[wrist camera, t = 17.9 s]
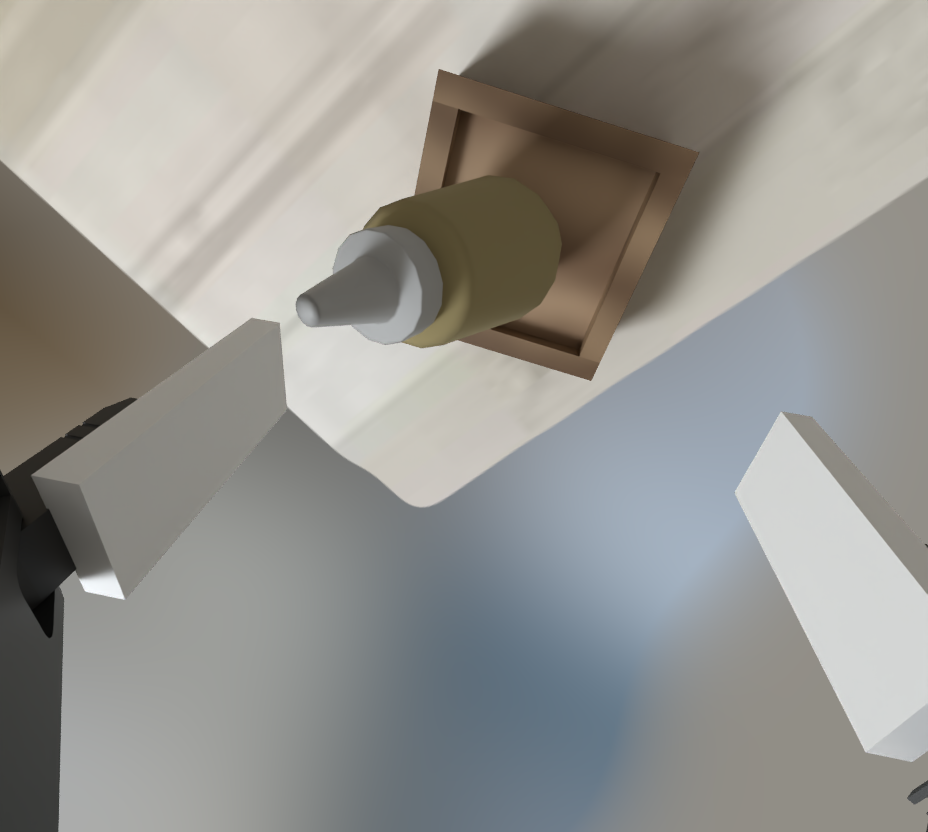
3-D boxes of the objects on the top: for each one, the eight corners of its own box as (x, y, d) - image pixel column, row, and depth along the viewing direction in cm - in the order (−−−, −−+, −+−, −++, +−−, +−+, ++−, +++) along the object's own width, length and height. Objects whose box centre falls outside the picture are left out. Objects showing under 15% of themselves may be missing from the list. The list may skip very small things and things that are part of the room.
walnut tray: (458, 77, 32) (438, 69, 26) (670, 145, 33) (699, 152, 27) (413, 288, 41) (390, 319, 34) (583, 341, 41) (591, 380, 35)
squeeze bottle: (550, 145, 28) (322, 125, 14) (600, 280, 29) (443, 385, 15) (444, 213, 32) (196, 249, 18) (492, 325, 34) (298, 436, 20)
